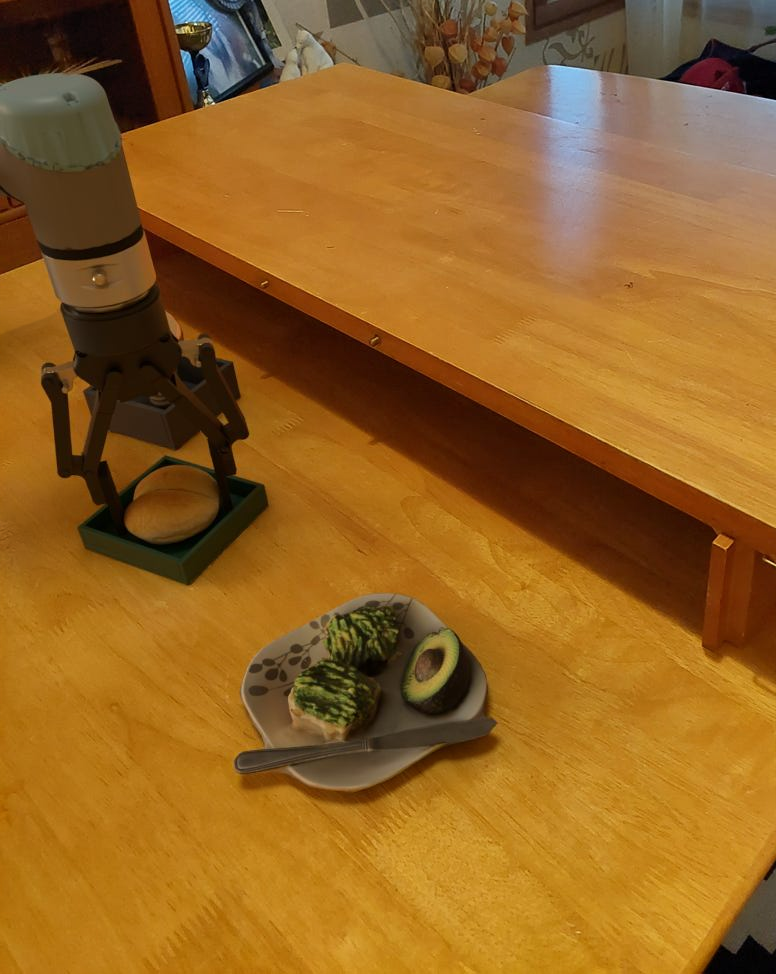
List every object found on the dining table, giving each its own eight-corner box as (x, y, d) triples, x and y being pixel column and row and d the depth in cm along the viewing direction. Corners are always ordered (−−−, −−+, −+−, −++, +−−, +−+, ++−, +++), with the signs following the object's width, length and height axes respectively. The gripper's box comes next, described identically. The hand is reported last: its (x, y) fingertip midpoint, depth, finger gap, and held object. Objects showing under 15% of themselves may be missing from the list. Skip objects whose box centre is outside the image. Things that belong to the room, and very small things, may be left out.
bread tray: (84, 548, 85) (76, 527, 83) (171, 475, 93) (165, 454, 92) (188, 585, 81) (181, 563, 79) (269, 505, 89) (264, 484, 88)
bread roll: (117, 549, 83) (105, 515, 80) (148, 486, 90) (138, 453, 87) (208, 549, 82) (199, 515, 80) (232, 486, 89) (224, 453, 87)
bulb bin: (94, 426, 101) (82, 390, 98) (163, 376, 109) (153, 342, 106) (175, 450, 97) (165, 413, 94) (241, 396, 105) (233, 361, 102)
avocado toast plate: (289, 871, 60) (278, 831, 57) (187, 693, 71) (173, 653, 68) (528, 725, 68) (528, 684, 65) (402, 588, 80) (397, 548, 77)
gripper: (-46, 340, 67) (52, 568, 81) (254, 287, 72) (297, 510, 86) (-38, 296, 72) (53, 517, 86) (240, 250, 78) (283, 465, 92)
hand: (175, 513), depth 86 cm, fingers closed on bread roll, 9 cm apart
